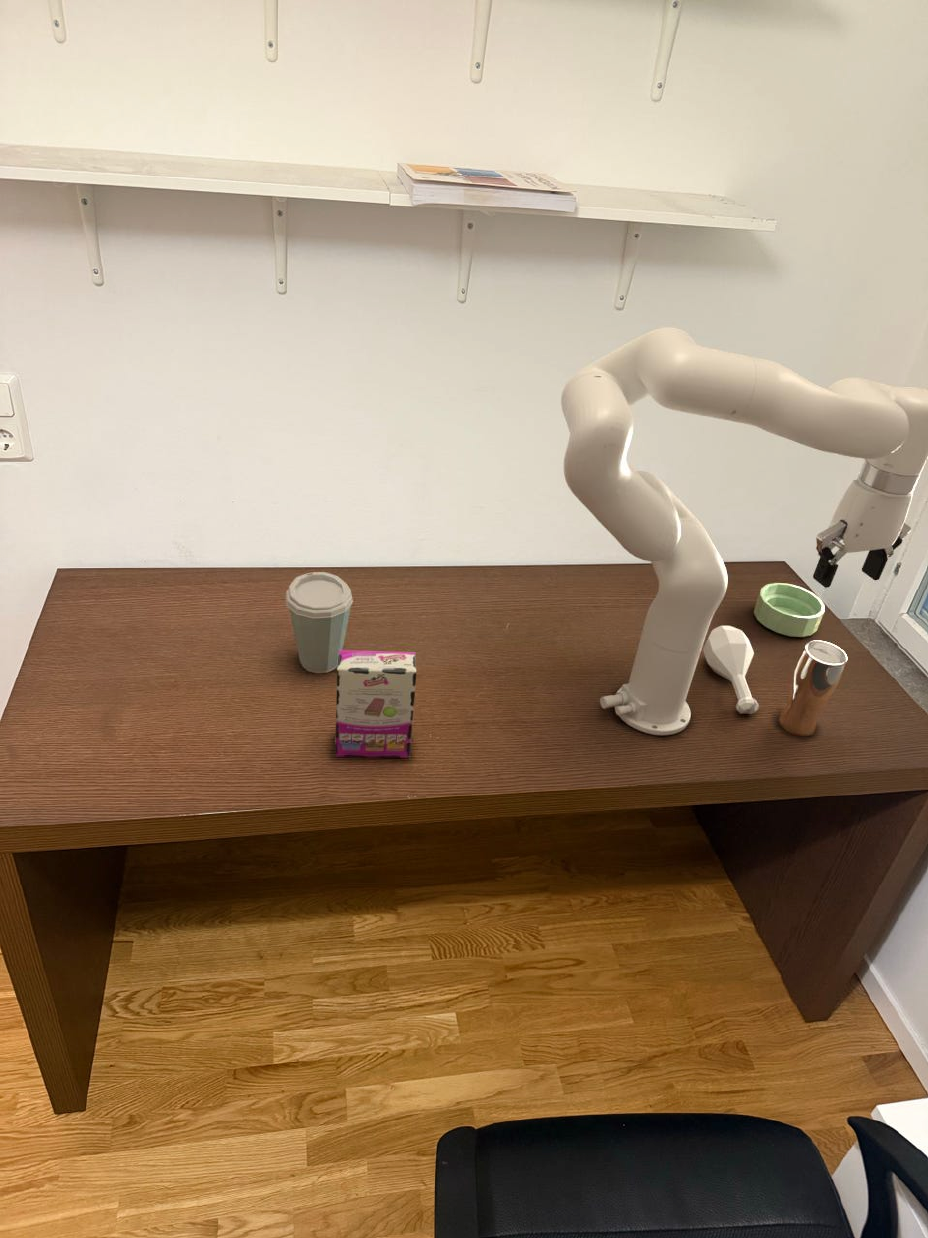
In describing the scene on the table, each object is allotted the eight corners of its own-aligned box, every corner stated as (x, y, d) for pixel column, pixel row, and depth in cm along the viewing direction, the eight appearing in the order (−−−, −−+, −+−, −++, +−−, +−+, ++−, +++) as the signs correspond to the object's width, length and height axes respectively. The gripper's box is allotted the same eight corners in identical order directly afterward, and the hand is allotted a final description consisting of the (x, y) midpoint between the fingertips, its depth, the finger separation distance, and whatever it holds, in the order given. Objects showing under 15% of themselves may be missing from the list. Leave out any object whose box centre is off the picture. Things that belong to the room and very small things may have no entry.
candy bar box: (408, 736, 139) (417, 650, 130) (409, 759, 135) (418, 672, 126) (334, 734, 138) (338, 647, 128) (333, 757, 133) (336, 669, 124)
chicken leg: (714, 719, 152) (749, 691, 147) (689, 640, 164) (720, 611, 159) (751, 733, 155) (786, 705, 150) (723, 654, 168) (755, 626, 163)
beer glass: (799, 708, 156) (828, 637, 147) (826, 734, 151) (858, 662, 142) (766, 714, 153) (794, 642, 145) (792, 741, 148) (823, 668, 140)
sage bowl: (780, 643, 172) (788, 622, 169) (740, 608, 181) (747, 587, 178) (829, 634, 176) (838, 612, 174) (788, 600, 185) (795, 579, 183)
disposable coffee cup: (360, 674, 150) (364, 598, 142) (297, 688, 145) (298, 611, 137) (336, 638, 158) (339, 565, 149) (276, 651, 153) (275, 575, 144)
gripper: (913, 461, 134) (870, 560, 144) (823, 469, 128) (784, 572, 137) (952, 484, 129) (905, 585, 138) (860, 493, 122) (818, 599, 132)
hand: (845, 579), depth 138 cm, fingers open, 9 cm apart
